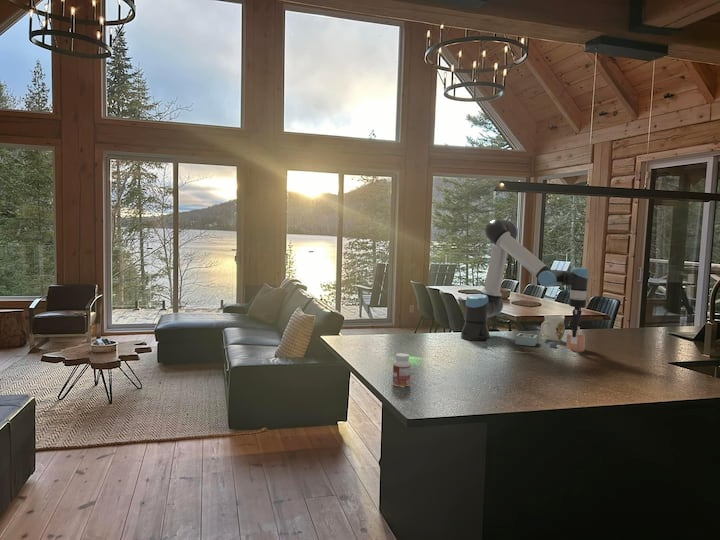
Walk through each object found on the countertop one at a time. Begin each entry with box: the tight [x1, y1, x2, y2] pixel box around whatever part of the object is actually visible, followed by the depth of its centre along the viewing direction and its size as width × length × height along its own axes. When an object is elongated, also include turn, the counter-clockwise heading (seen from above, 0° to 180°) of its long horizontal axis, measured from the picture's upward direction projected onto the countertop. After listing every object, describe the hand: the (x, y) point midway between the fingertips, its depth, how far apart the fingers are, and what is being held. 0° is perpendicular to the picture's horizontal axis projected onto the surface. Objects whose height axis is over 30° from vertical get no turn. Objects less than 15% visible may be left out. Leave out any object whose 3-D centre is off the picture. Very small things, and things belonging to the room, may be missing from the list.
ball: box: [549, 341, 557, 349], centre depth 263 cm, size 3×3×3 cm
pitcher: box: [540, 314, 566, 342], centre depth 282 cm, size 11×18×14 cm, turn 122°
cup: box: [565, 331, 586, 353], centre depth 262 cm, size 8×8×8 cm
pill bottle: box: [392, 352, 411, 387], centre depth 187 cm, size 6×6×11 cm
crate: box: [515, 332, 538, 347], centre depth 269 cm, size 9×9×5 cm
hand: (574, 341), depth 262 cm, fingers open, 13 cm apart
